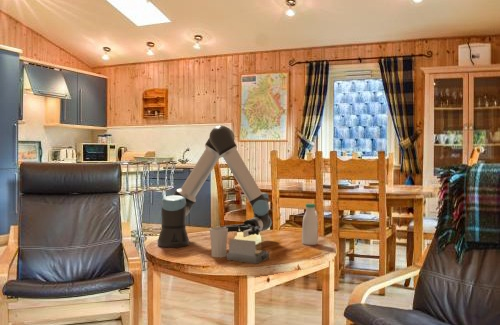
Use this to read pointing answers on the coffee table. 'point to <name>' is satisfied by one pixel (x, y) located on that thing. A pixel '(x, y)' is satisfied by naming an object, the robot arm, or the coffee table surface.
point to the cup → (218, 241)
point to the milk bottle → (310, 226)
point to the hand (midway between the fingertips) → (231, 232)
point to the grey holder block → (245, 252)
